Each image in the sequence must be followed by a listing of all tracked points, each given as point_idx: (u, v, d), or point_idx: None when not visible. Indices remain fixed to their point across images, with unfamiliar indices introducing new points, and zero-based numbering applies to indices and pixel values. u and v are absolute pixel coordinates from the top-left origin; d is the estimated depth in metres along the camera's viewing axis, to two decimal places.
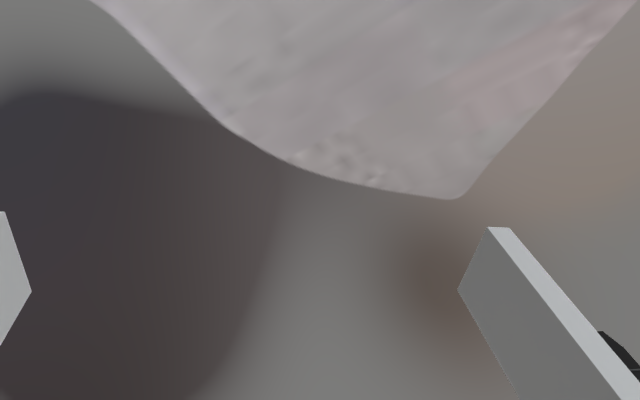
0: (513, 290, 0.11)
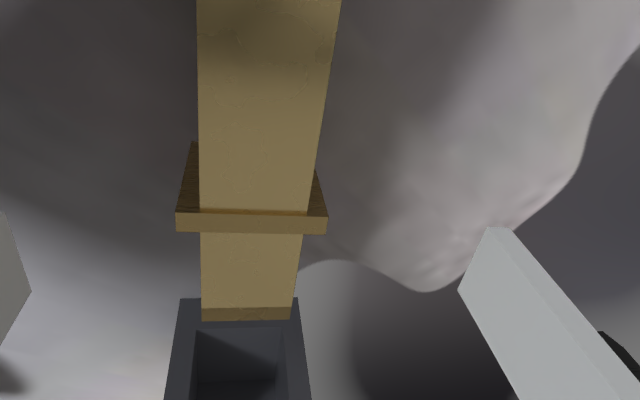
0: (513, 290, 0.11)
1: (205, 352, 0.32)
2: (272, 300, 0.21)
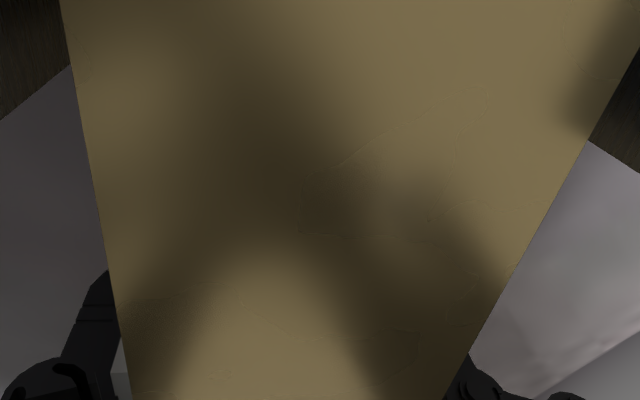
0: None
1: None
2: None
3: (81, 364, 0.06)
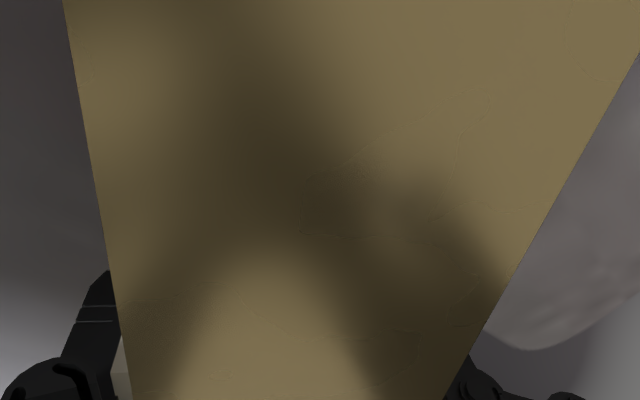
0: None
1: None
2: None
3: (81, 364, 0.06)
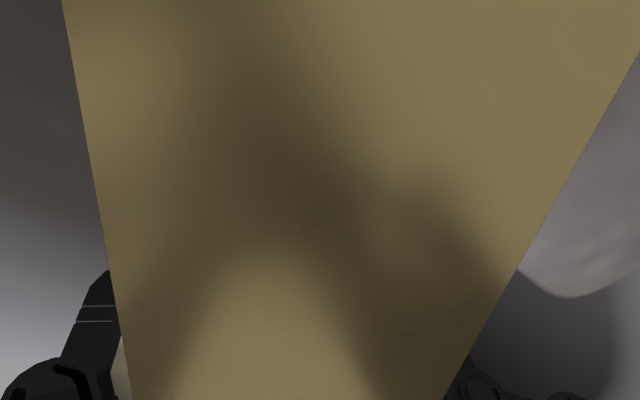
0: None
1: None
2: None
3: (81, 364, 0.06)
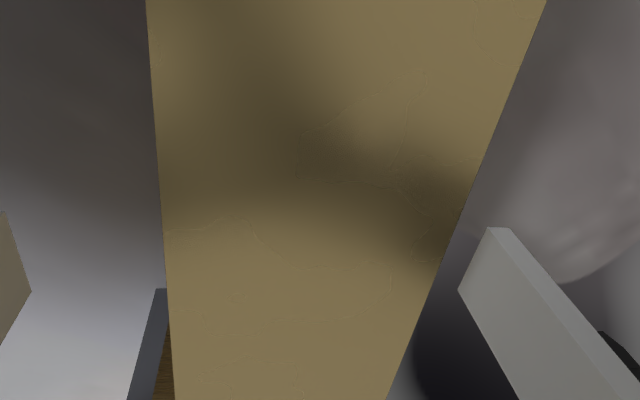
0: (513, 290, 0.11)
1: None
2: None
3: None
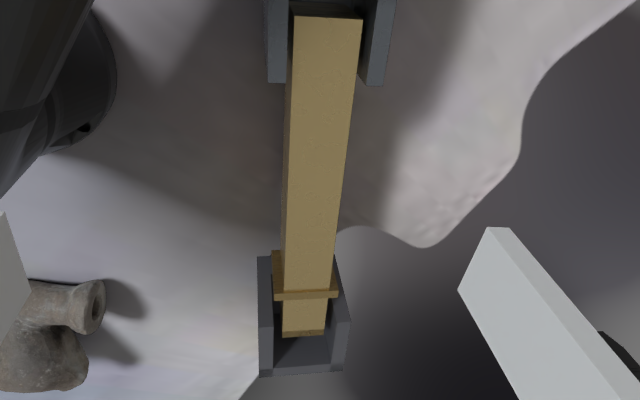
0: (513, 290, 0.11)
1: None
2: (315, 326, 0.43)
3: None
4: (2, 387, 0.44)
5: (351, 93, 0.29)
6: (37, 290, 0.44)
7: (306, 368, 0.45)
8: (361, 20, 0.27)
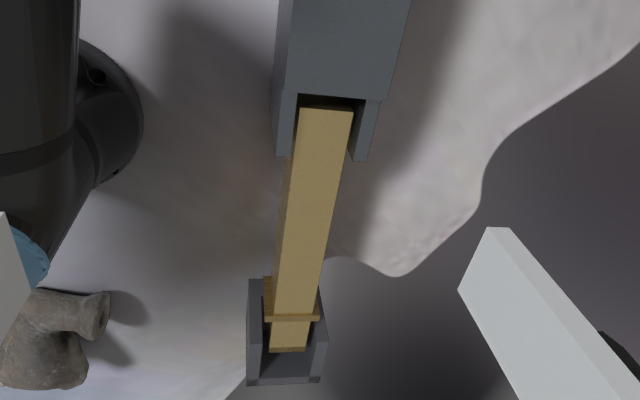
0: (513, 290, 0.11)
1: None
2: (298, 344, 0.50)
3: None
4: (11, 384, 0.49)
5: (341, 164, 0.36)
6: (51, 299, 0.49)
7: (288, 379, 0.52)
8: (352, 112, 0.34)
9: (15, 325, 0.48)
